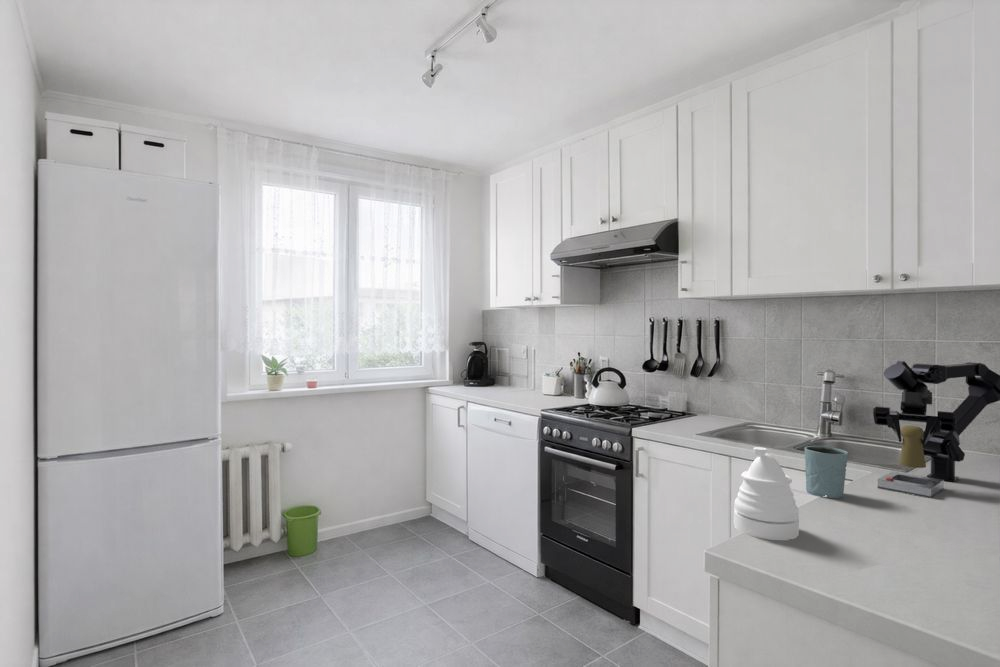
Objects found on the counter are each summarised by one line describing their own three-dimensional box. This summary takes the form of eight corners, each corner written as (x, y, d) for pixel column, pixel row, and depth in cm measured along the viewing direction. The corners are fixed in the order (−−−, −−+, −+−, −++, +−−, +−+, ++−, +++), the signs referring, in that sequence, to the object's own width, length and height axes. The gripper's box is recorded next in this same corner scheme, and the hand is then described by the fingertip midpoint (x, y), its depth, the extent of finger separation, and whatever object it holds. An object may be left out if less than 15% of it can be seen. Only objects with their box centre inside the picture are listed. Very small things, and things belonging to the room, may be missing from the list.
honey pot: (769, 544, 110) (770, 456, 110) (721, 523, 122) (721, 444, 122) (812, 535, 116) (813, 451, 116) (762, 516, 127) (762, 440, 127)
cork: (931, 468, 148) (930, 428, 148) (906, 467, 149) (905, 427, 149) (918, 463, 154) (918, 424, 154) (894, 462, 155) (894, 424, 155)
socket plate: (892, 479, 161) (892, 469, 161) (943, 488, 152) (943, 477, 152) (877, 487, 152) (877, 476, 152) (930, 498, 143) (930, 486, 143)
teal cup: (804, 486, 153) (804, 444, 153) (846, 492, 148) (847, 448, 148) (803, 495, 144) (804, 450, 144) (848, 501, 139) (849, 455, 139)
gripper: (873, 379, 161) (868, 421, 152) (955, 383, 148) (955, 428, 140) (877, 403, 167) (872, 444, 158) (956, 408, 154) (955, 453, 146)
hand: (911, 442), depth 150 cm, fingers closed on cork, 5 cm apart
